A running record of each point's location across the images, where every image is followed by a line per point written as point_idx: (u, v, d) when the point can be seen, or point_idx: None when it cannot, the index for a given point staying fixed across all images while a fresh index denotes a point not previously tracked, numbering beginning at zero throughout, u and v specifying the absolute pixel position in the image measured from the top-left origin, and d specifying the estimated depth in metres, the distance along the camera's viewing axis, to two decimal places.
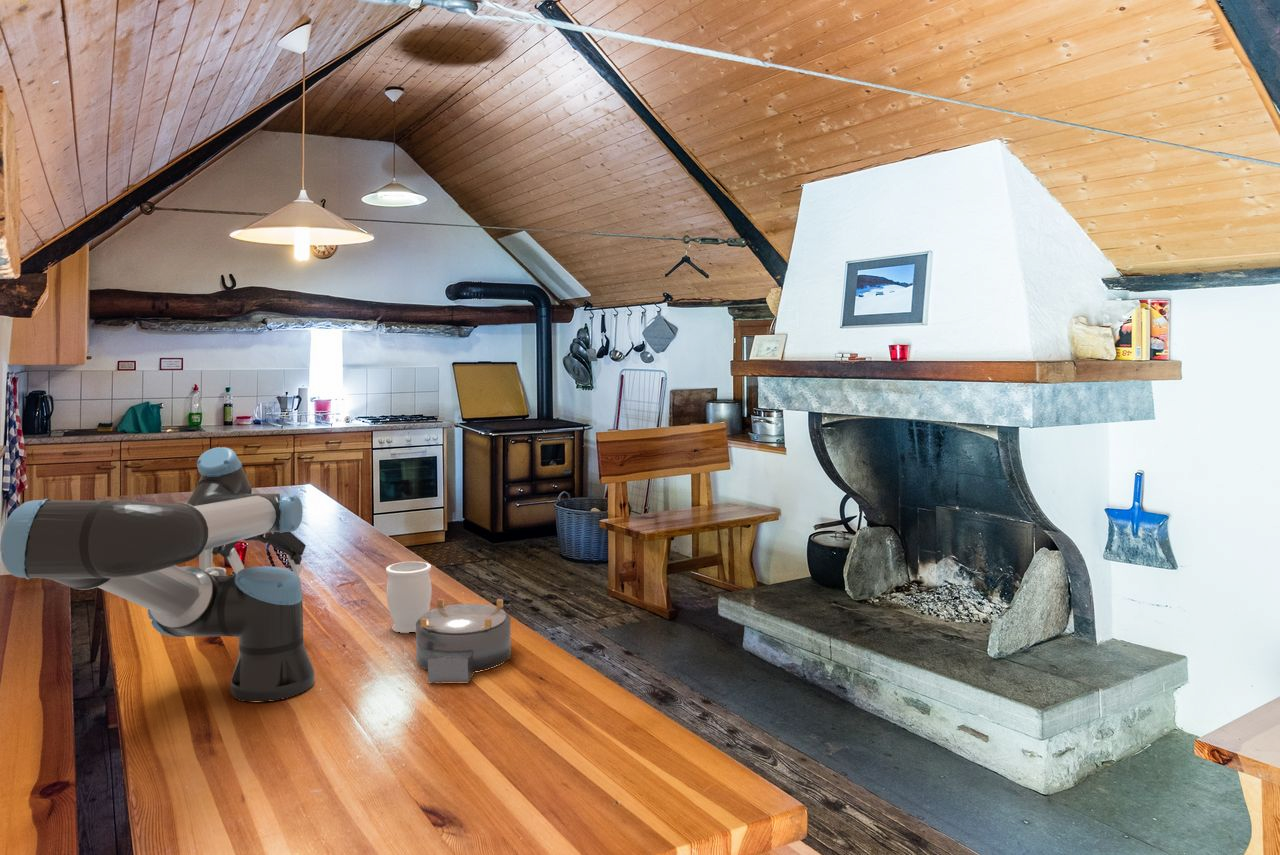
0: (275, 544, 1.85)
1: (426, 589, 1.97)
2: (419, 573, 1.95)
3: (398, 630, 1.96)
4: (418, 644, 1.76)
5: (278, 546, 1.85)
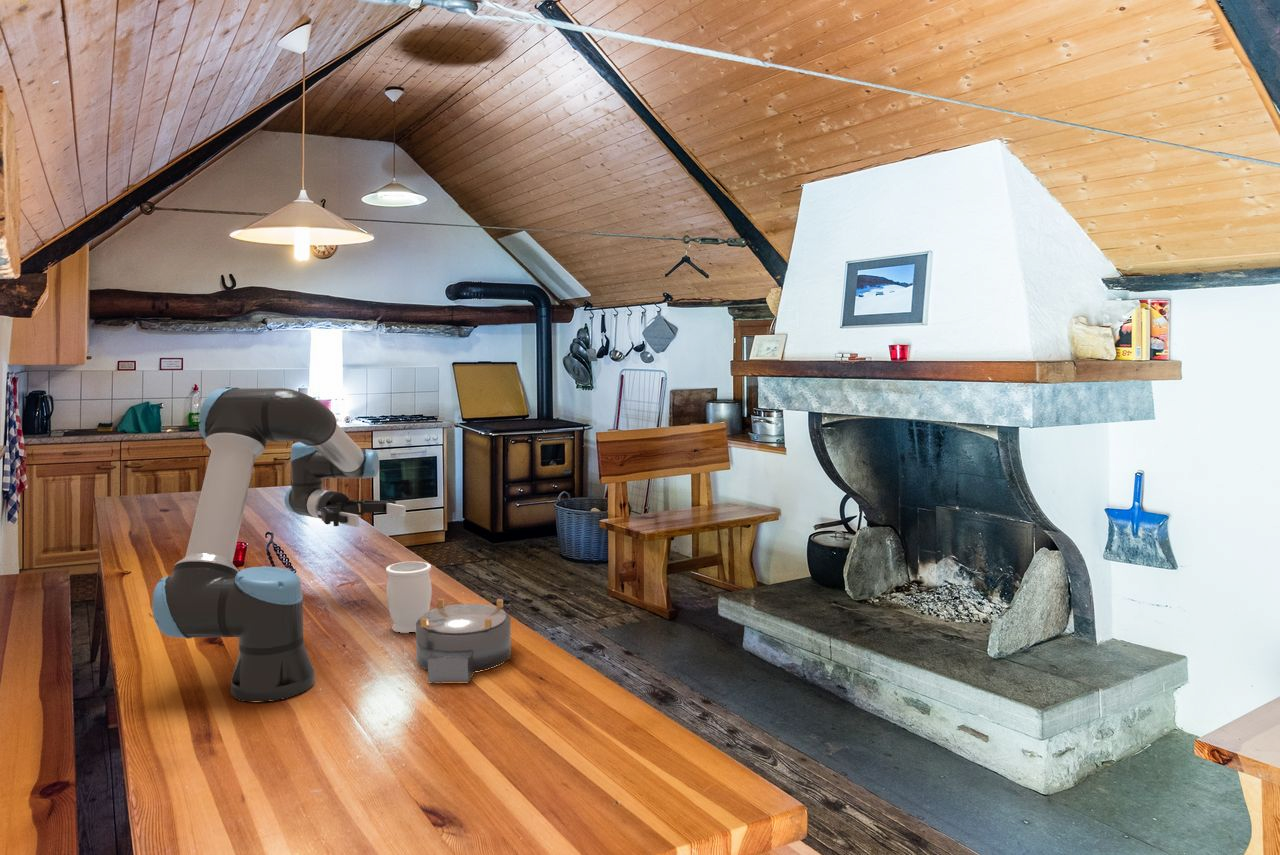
0: (370, 502, 2.14)
1: (426, 589, 1.97)
2: (419, 573, 1.95)
3: (398, 630, 1.96)
4: (418, 644, 1.76)
5: (373, 502, 2.14)
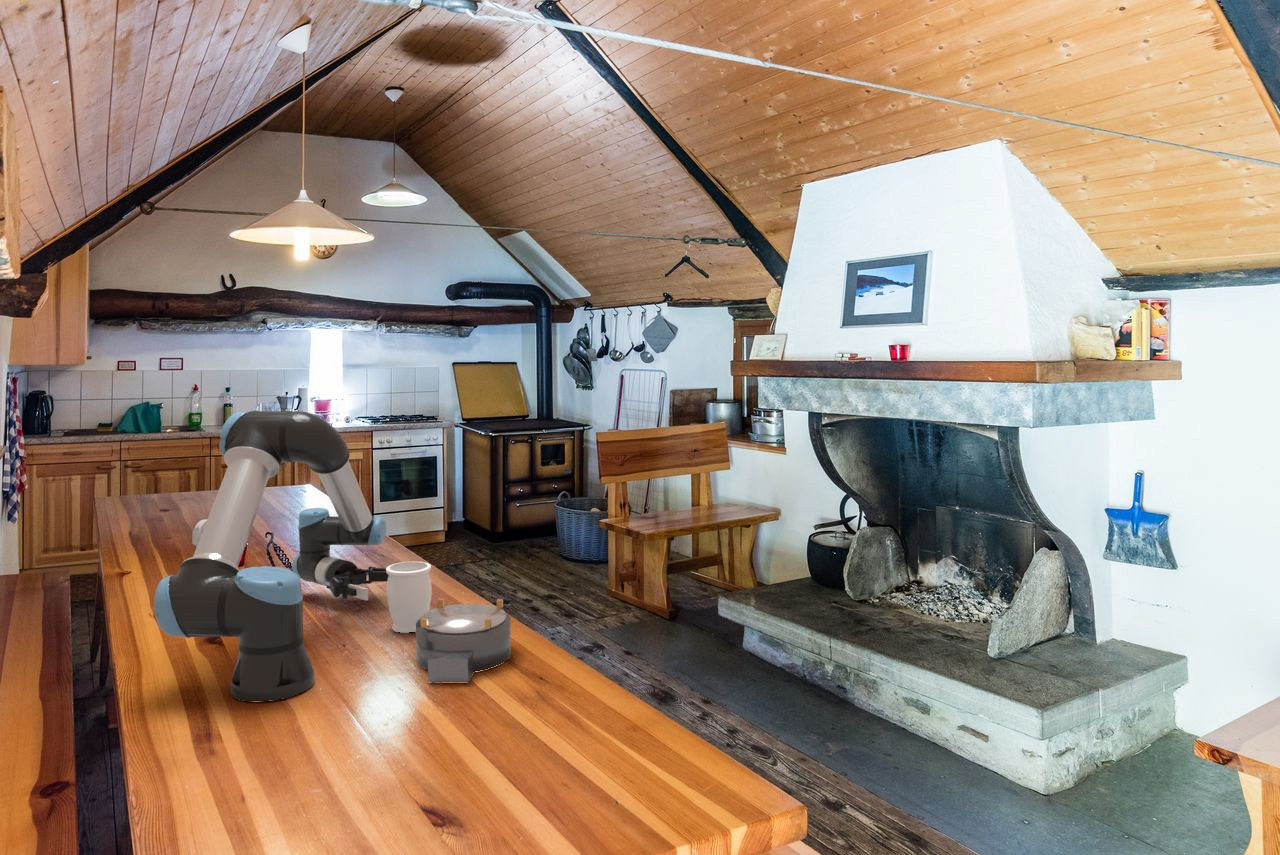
0: (378, 571, 2.14)
1: (426, 589, 1.97)
2: (419, 573, 1.95)
3: (398, 630, 1.96)
4: (418, 644, 1.76)
5: (381, 571, 2.15)
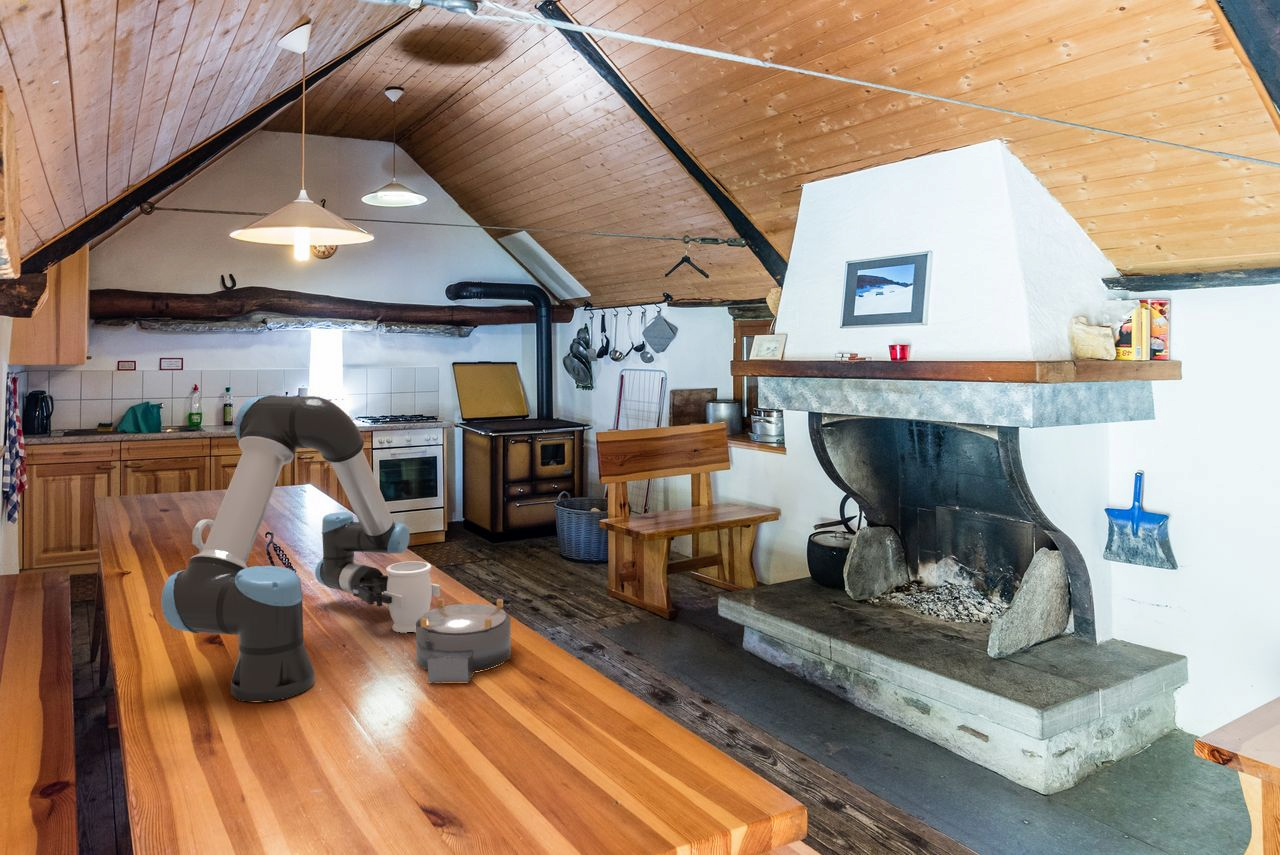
0: None
1: (426, 588, 1.97)
2: (419, 573, 1.95)
3: (398, 630, 1.96)
4: (418, 644, 1.76)
5: None
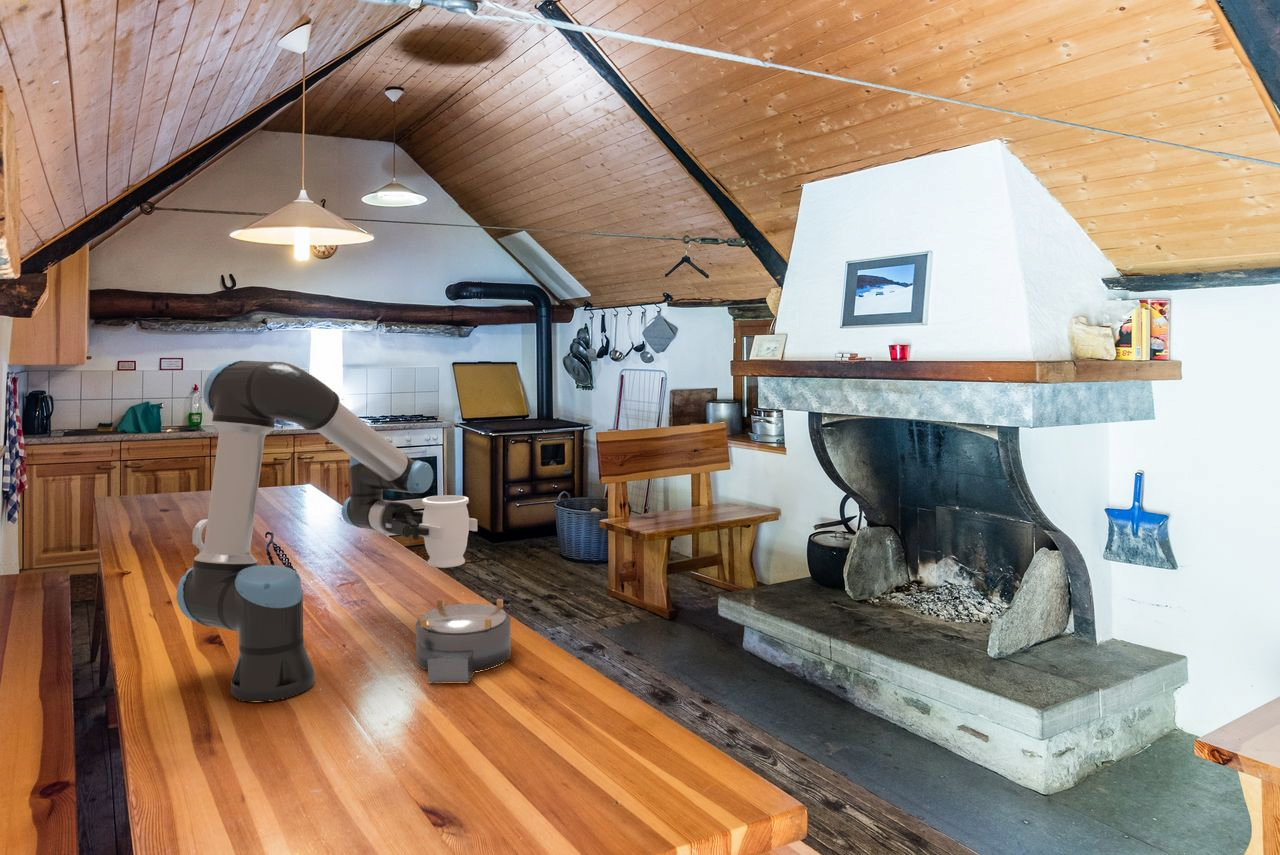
0: None
1: (464, 521, 1.88)
2: (458, 504, 1.86)
3: (435, 564, 1.87)
4: (418, 644, 1.76)
5: None
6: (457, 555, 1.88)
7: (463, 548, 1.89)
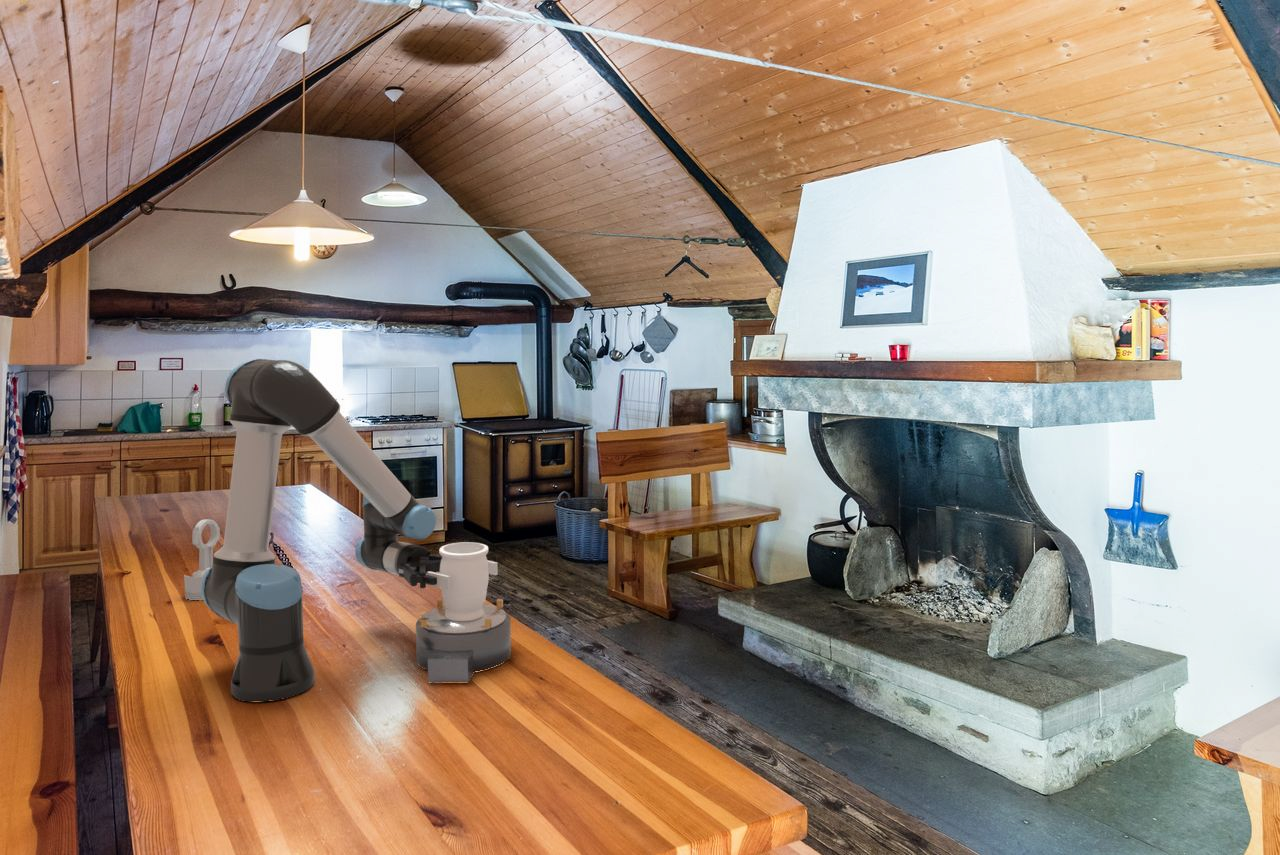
0: None
1: (484, 573, 1.78)
2: (477, 555, 1.76)
3: (453, 618, 1.78)
4: (418, 644, 1.76)
5: None
6: (476, 608, 1.78)
7: (482, 600, 1.79)
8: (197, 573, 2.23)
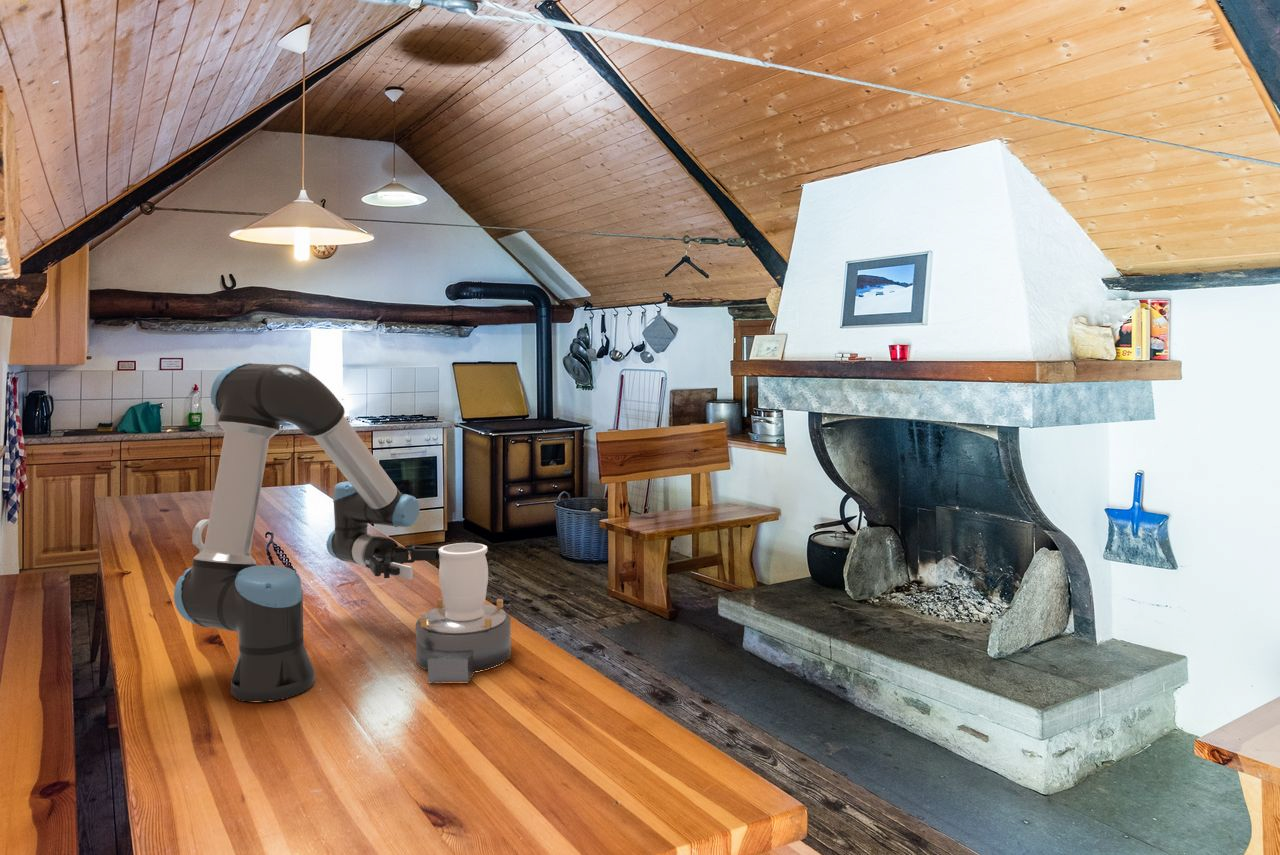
0: (421, 549, 1.96)
1: (483, 572, 1.78)
2: (476, 554, 1.76)
3: (452, 618, 1.78)
4: (418, 644, 1.76)
5: (425, 549, 1.96)
6: (475, 608, 1.78)
7: (482, 600, 1.79)
8: None
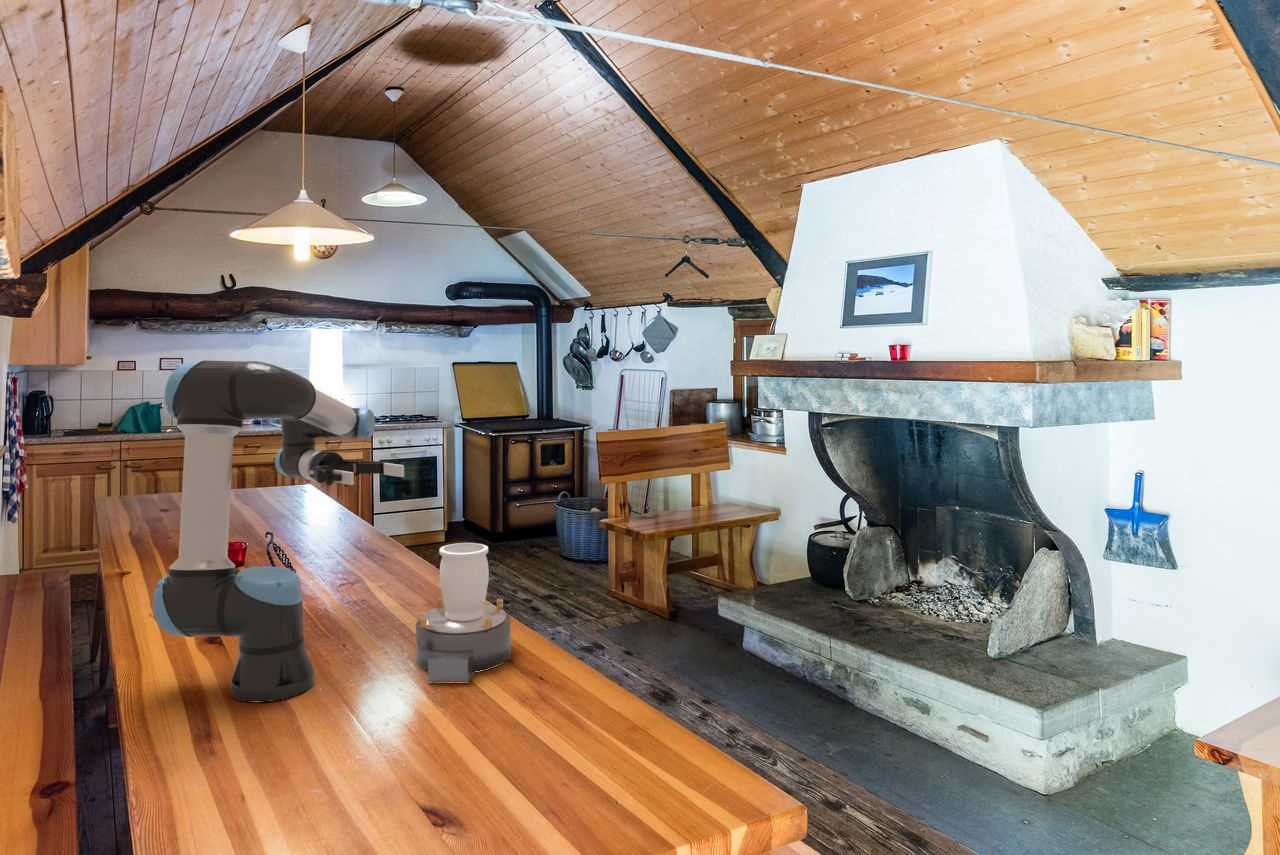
0: (366, 463, 2.00)
1: (483, 572, 1.78)
2: (476, 555, 1.76)
3: (452, 618, 1.78)
4: (418, 644, 1.76)
5: (370, 462, 2.00)
6: (475, 608, 1.78)
7: (482, 600, 1.79)
8: None
